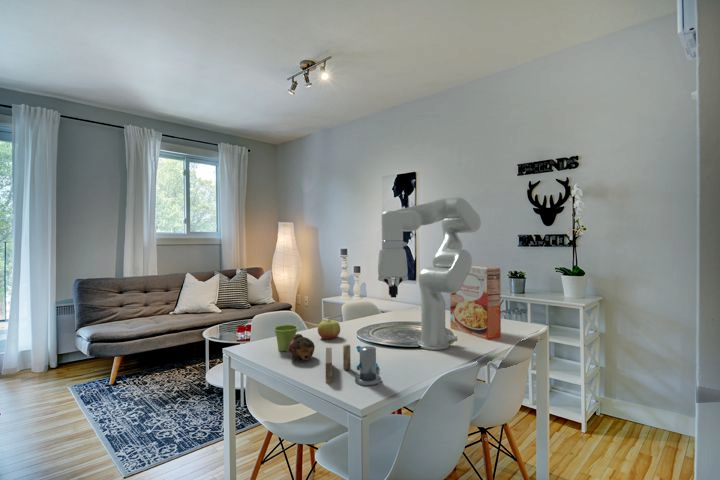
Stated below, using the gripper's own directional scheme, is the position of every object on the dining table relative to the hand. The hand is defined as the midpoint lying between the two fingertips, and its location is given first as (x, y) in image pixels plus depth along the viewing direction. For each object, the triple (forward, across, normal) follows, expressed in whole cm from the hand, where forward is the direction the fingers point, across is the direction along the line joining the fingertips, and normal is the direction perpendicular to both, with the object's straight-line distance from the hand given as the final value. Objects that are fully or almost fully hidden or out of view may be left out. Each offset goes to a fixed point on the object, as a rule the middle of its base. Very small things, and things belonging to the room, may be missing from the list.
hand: (393, 296), depth 136 cm
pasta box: (+24, -43, -34) cm, 59 cm away
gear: (+23, +10, +6) cm, 26 cm away
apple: (+23, +23, -33) cm, 46 cm away
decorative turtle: (+23, +33, -6) cm, 41 cm away
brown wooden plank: (+23, +23, +10) cm, 34 cm away
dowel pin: (+23, +17, +7) cm, 29 cm away
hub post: (+23, +11, +18) cm, 31 cm away
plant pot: (+23, +40, -18) cm, 50 cm away
